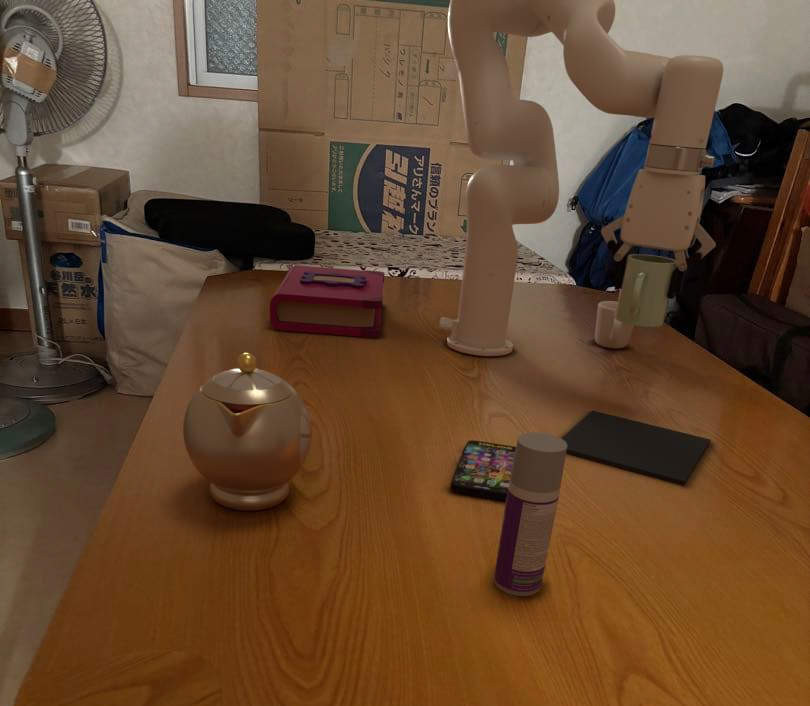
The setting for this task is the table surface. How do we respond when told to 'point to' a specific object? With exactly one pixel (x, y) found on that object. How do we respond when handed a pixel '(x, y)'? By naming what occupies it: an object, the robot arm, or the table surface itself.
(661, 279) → the mug
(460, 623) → the table surface
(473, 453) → the smartphone
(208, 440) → the teapot
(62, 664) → the table surface
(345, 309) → the book
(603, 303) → the cup
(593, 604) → the table surface
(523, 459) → the container
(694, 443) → the mat
